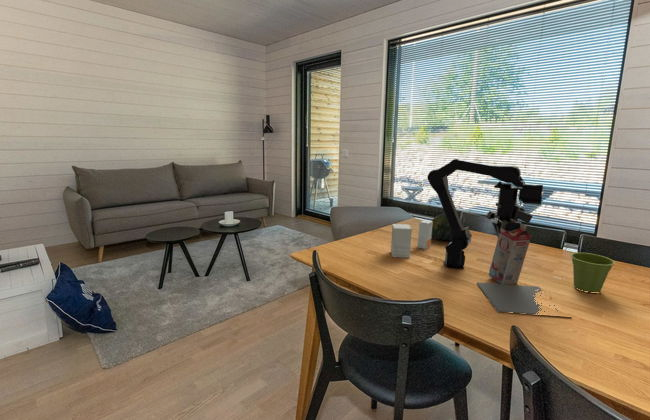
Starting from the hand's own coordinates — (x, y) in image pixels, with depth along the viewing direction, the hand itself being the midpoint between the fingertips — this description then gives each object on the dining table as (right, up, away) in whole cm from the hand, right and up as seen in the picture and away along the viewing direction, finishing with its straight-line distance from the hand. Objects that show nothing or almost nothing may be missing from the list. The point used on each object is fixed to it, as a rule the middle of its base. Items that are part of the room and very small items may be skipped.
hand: (501, 243), depth 126 cm
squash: (-5, -2, +46) cm, 47 cm away
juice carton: (-1, -13, -3) cm, 13 cm away
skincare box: (-19, -5, +33) cm, 38 cm away
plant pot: (+24, -15, -8) cm, 30 cm away
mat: (-3, -16, -17) cm, 23 cm away
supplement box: (-32, -7, +22) cm, 40 cm away
